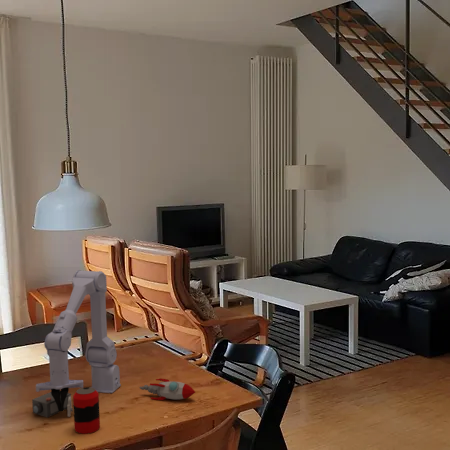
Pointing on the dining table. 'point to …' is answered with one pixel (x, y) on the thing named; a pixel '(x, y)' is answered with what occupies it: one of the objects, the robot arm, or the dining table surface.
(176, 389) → the toy
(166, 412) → the dining table surface
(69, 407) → the side door
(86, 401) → the soda can
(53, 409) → the cam body
